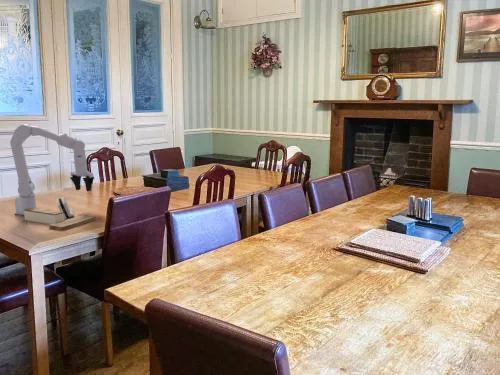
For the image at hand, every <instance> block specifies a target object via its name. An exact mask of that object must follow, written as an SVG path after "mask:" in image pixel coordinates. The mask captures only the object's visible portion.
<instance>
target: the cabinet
mask: <svg viewBox="0 0 500 375" xmlns="http://www.w3.org/2000/svg"><path fill="white" fill-rule="evenodd" d="M23 216H24V221H30V222H37V223H42V224H48V225H51V224H54V223H58V222H61V221H64V220H65V219H64V212H62V211H60V210H53V209H47V208H46V209H45V208H41V207H36V208H34V207H32V208H28V209H24V215H23Z"/></svg>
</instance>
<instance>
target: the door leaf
mask: <svg viewBox="0 0 500 375" xmlns="http://www.w3.org/2000/svg"><path fill="white" fill-rule="evenodd" d="M93 221H96V216H91V215H84V214H81V215H78V216H75V217H70V218H68V219H64V221H61V222H58V223H54V224H48V229H52V230H56V229H57V231H62V230H63V231H65V230H68V229H71V228H75V227H78V226H81V225H84V224H87V223H91V222H93Z"/></svg>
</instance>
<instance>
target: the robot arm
mask: <svg viewBox="0 0 500 375" xmlns="http://www.w3.org/2000/svg"><path fill="white" fill-rule="evenodd" d="M36 136H40V137H44V138H46V139H49V140H52V141H55V142H56V143H57V145H59V146H60V147H63V148H66V149H69V150H72V151H73V160H74V170H75V171H71V172H70V177H69V178H70V181H71V182H72V183H73V185H74V188H75V190H76V191H80V190H81V186H82V185H81V181H82V180H83V182H84V186H85V189H86V190H85V191H86V192H90V191H91V190H92V187H93V186H92V184H93V181H94V179H95V177H94V176H95V175H94V173H93V172H90V171H88V165H87V163H88V162H87V155H86V149H85V148H86V144H85V142H84V141H83V140H82V139H78V138H77V137H71V136H69V135H68V134H67V133H61V134H57V133H54V132H52V131H50V130H47V129H44V128H42V127H40V126H36V125H31V124H30V123H23V124H20V125H18V126H17V128H16V129H14V130H13V134H12V137H11V138H10V141H9V145H10V147H11V148H10V149H11V152H12V156H13V161H14V165H15V166H14V167H15V168H16V174H17V185H18V187H17V193H18V195H17V196H15V199H14V208H15V212H14V214H16V215H21V216H25V215H24V209H28V208H32V207H34V208H37V204H36V195H35V193H34V191H35V188H36V187H35V184H34V183H33V182H32V178H31V176H30V174H29V170H28V166H27V161H26V156H25V152H24V148H23V147H24V146H23V144H24V143H25V141H26V140H27V139H28V138H29V137H36ZM82 177H83V178H82ZM81 179H82V180H81Z"/></svg>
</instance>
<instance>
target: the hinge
mask: <svg viewBox="0 0 500 375" xmlns="http://www.w3.org/2000/svg"><path fill="white" fill-rule="evenodd" d="M55 202H56V204H57V208H58V211H62V212H64V220H68V219H67V218H74V217H76V216H75V211H74V209H73V207H71V206H70V205H69V204H68V202H67V200H66V198H65V197H64V196H61V197H60V198H57V199H55Z"/></svg>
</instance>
